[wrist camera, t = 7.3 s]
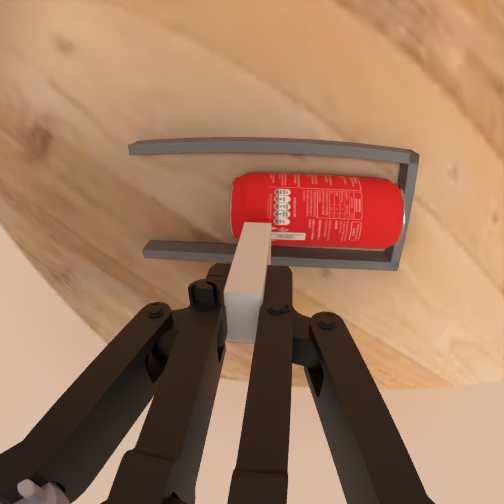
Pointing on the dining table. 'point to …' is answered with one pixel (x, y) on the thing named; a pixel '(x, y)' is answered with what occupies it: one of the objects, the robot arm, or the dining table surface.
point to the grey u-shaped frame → (279, 253)
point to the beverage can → (320, 209)
